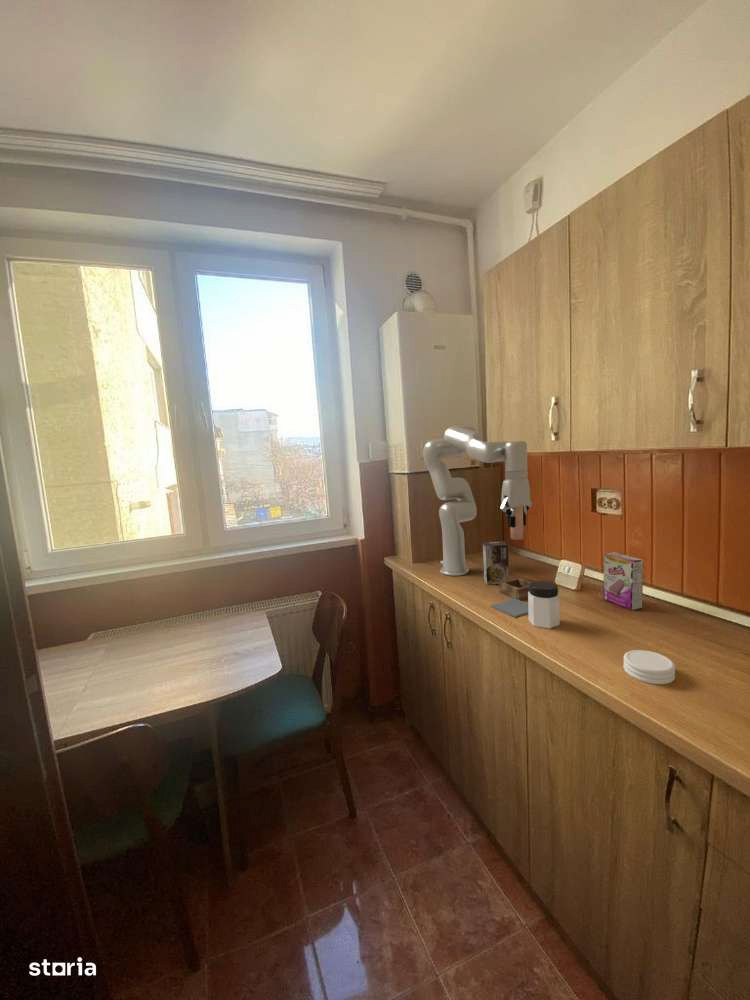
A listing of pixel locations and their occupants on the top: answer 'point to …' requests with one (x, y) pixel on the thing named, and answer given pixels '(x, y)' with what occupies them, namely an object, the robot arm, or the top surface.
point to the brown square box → (515, 588)
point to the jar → (543, 604)
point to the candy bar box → (623, 580)
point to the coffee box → (495, 562)
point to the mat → (512, 607)
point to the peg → (517, 524)
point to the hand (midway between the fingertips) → (516, 525)
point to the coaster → (649, 667)
